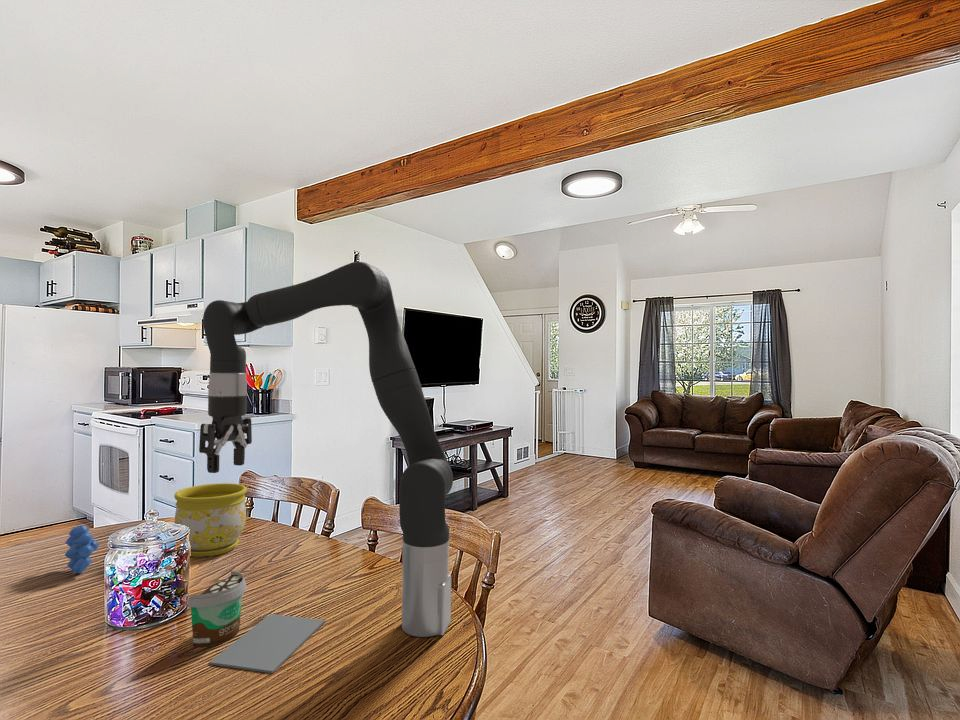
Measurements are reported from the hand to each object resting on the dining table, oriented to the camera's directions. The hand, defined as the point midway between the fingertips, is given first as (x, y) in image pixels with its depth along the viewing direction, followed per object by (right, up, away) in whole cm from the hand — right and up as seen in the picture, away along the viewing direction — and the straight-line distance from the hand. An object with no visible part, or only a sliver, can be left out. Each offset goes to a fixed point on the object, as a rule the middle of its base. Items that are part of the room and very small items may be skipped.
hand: (226, 468), depth 114 cm
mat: (+16, -29, -15) cm, 37 cm away
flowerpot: (-20, -29, +33) cm, 48 cm away
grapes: (-43, -29, +16) cm, 54 cm away
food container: (+6, -29, -13) cm, 33 cm away
